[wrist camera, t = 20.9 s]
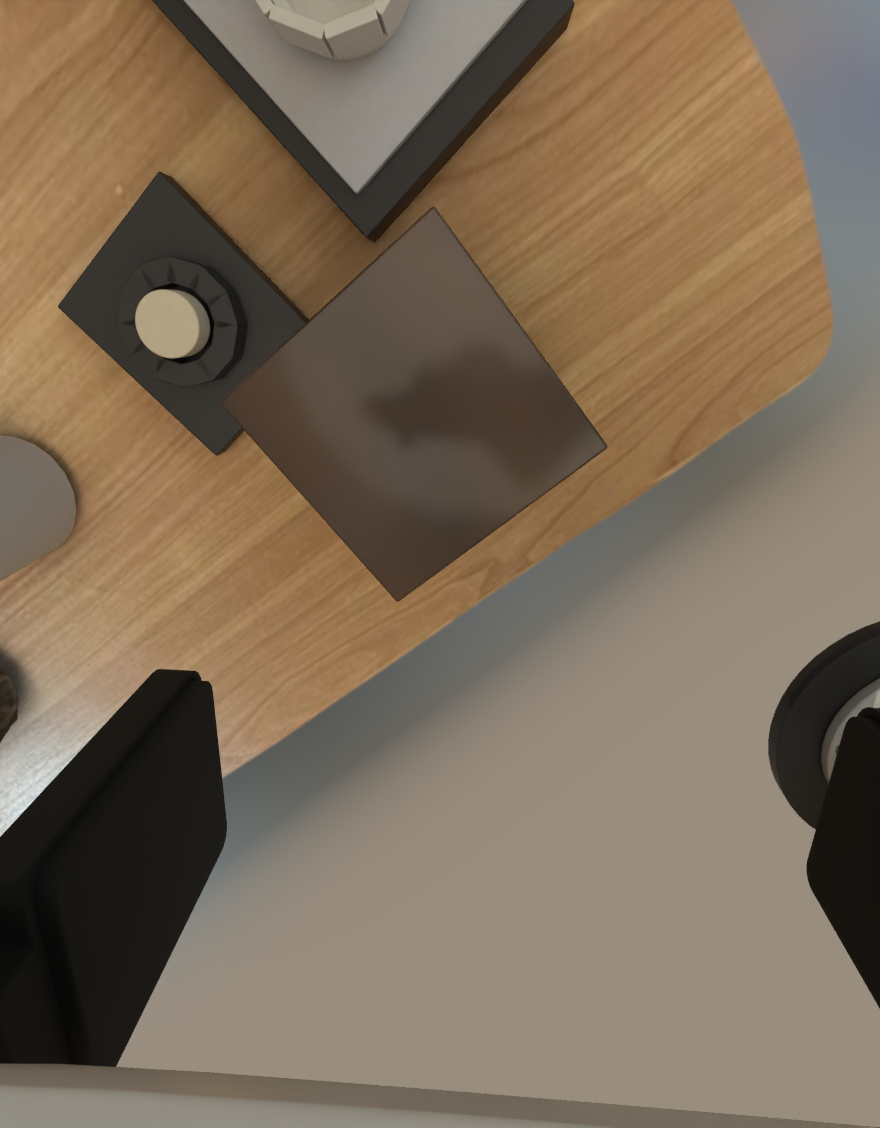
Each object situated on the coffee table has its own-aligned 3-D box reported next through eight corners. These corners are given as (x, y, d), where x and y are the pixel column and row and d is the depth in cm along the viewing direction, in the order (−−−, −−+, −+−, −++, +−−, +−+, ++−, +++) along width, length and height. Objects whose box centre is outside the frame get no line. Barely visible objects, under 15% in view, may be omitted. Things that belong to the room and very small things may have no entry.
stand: (449, 245, 34) (433, 204, 21) (561, 399, 37) (608, 447, 24) (309, 370, 37) (218, 402, 24) (423, 507, 40) (397, 603, 26)
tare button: (223, 324, 34) (212, 325, 32) (185, 370, 35) (172, 372, 33) (174, 275, 33) (160, 274, 32) (136, 323, 34) (121, 323, 33)
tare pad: (328, 339, 36) (315, 342, 34) (224, 451, 39) (205, 462, 36) (170, 175, 34) (143, 163, 31) (71, 306, 37) (37, 306, 34)
